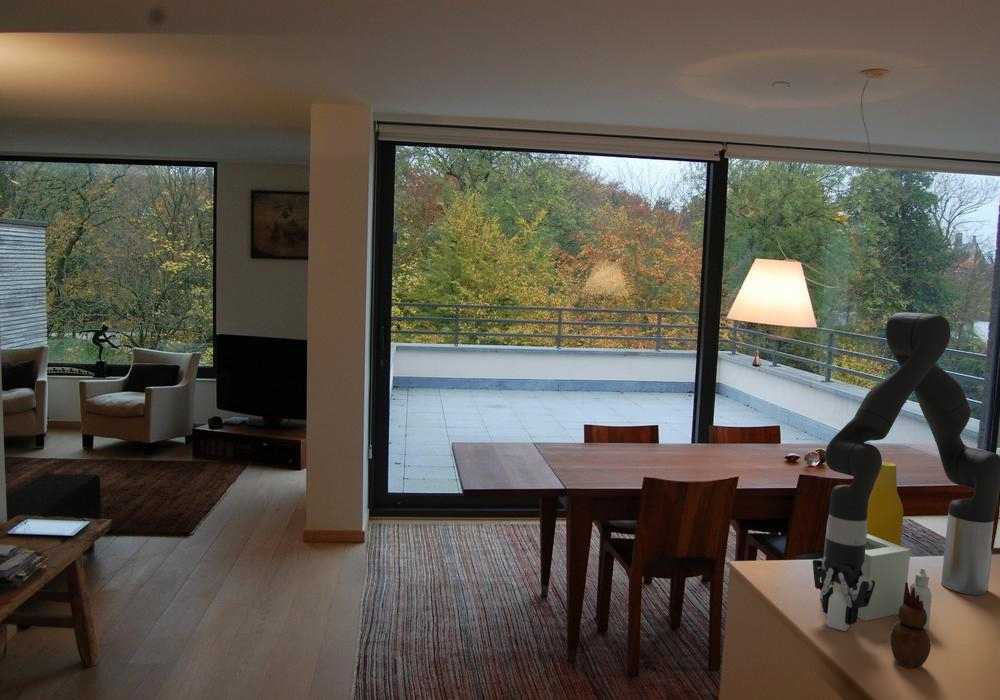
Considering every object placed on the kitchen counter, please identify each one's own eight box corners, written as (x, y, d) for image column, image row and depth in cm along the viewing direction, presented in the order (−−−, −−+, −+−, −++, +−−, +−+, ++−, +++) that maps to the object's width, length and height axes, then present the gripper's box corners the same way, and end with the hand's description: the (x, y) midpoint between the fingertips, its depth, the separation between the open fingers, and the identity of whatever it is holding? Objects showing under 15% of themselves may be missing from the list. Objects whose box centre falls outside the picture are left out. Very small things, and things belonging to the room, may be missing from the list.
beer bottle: (846, 582, 188) (857, 462, 185) (863, 573, 195) (874, 457, 192) (886, 595, 182) (898, 470, 179) (903, 585, 188) (914, 465, 185)
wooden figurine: (882, 654, 152) (890, 578, 150) (911, 654, 152) (919, 579, 151) (903, 672, 145) (911, 593, 144) (933, 672, 146) (941, 593, 144)
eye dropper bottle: (930, 622, 167) (936, 567, 166) (927, 631, 163) (933, 575, 162) (907, 616, 170) (913, 562, 169) (903, 625, 165) (909, 569, 164)
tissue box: (858, 591, 183) (863, 532, 181) (904, 612, 172) (910, 549, 171) (820, 598, 178) (825, 537, 176) (865, 620, 167) (871, 556, 165)
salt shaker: (850, 626, 164) (854, 581, 163) (846, 633, 161) (850, 587, 160) (829, 620, 166) (833, 576, 165) (825, 627, 163) (829, 582, 162)
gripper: (889, 547, 157) (881, 630, 158) (830, 525, 170) (824, 601, 171) (862, 551, 153) (854, 636, 155) (805, 528, 166) (798, 606, 168)
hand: (838, 617), depth 163 cm, fingers closed on salt shaker, 5 cm apart
